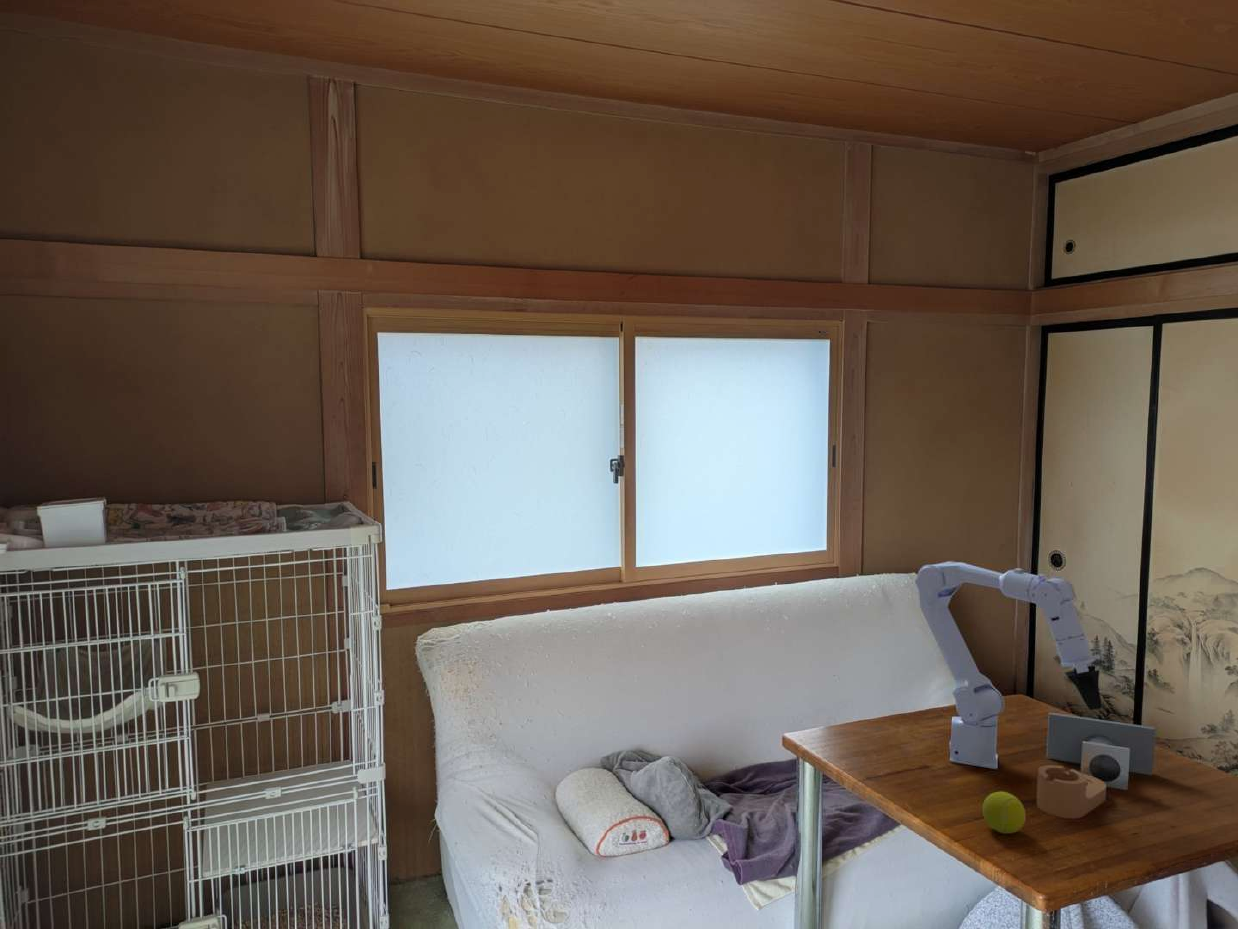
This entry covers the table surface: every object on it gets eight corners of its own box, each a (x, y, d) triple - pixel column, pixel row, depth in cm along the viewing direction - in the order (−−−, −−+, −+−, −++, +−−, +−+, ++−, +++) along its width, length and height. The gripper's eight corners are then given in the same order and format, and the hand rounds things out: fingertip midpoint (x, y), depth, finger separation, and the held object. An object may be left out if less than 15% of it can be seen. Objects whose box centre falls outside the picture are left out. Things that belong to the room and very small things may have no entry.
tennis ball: (1032, 837, 153) (1034, 799, 152) (1002, 843, 150) (1004, 805, 150) (1002, 819, 159) (1004, 783, 159) (973, 825, 157) (975, 788, 156)
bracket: (1073, 823, 158) (1075, 788, 158) (1028, 807, 165) (1030, 772, 164) (1112, 796, 170) (1114, 763, 169) (1069, 782, 176) (1070, 749, 176)
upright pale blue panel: (1049, 777, 178) (1051, 730, 177) (1046, 756, 189) (1048, 712, 188) (1160, 796, 170) (1163, 747, 169) (1151, 773, 180) (1154, 727, 180)
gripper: (1093, 634, 161) (1120, 706, 158) (1088, 631, 174) (1112, 698, 171) (1054, 643, 164) (1079, 714, 161) (1051, 639, 177) (1074, 705, 174)
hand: (1094, 706), depth 166 cm, fingers open, 7 cm apart
